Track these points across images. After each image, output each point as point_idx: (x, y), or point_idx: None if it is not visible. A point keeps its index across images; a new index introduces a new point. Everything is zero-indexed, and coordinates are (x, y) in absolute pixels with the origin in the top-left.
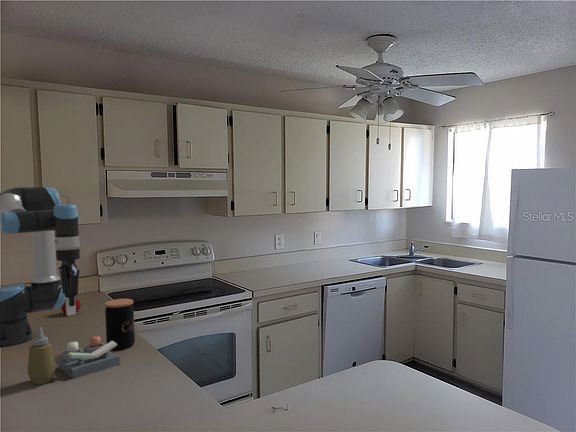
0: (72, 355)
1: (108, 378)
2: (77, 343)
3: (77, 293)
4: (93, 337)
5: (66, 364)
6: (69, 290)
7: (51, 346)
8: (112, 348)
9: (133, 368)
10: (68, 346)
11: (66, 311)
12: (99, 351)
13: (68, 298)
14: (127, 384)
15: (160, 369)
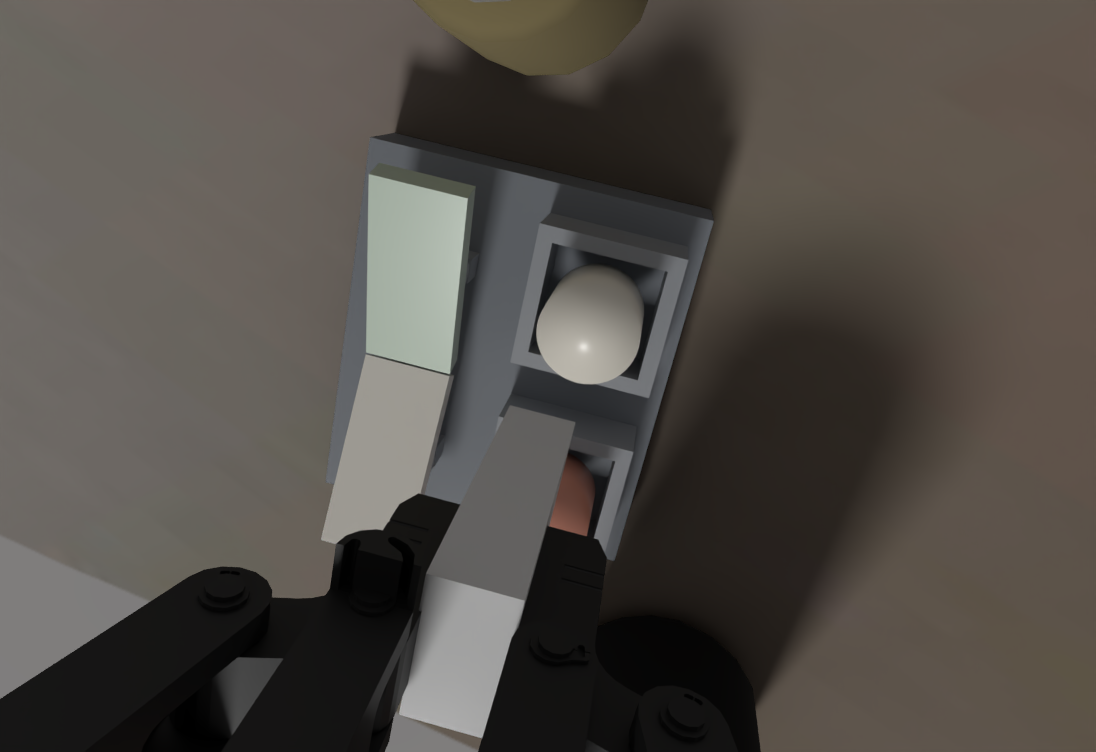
0: (369, 177)
1: (196, 263)
2: (543, 356)
3: (166, 718)
4: (556, 524)
5: (526, 183)
6: (167, 672)
7: (425, 12)
8: (631, 618)
9: (213, 446)
10: (579, 280)
11: (559, 445)
12: (383, 410)
13: (432, 584)
14: (20, 260)
15: (71, 503)
